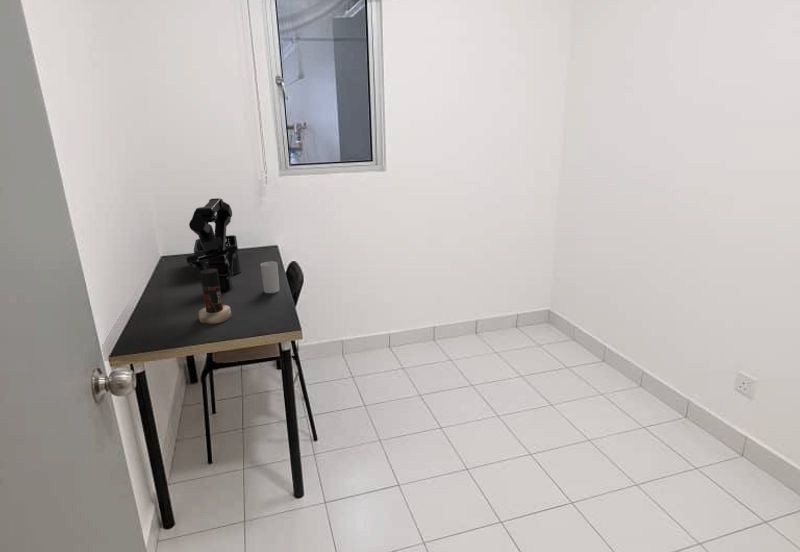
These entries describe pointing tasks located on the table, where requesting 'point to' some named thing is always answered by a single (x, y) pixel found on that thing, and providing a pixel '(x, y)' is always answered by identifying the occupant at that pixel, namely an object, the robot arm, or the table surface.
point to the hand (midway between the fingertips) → (219, 276)
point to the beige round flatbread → (215, 315)
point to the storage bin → (236, 262)
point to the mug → (270, 277)
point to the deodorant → (211, 290)
